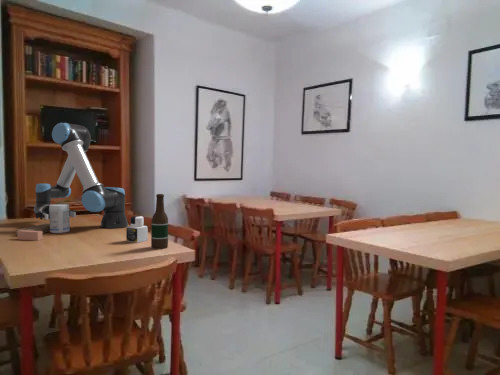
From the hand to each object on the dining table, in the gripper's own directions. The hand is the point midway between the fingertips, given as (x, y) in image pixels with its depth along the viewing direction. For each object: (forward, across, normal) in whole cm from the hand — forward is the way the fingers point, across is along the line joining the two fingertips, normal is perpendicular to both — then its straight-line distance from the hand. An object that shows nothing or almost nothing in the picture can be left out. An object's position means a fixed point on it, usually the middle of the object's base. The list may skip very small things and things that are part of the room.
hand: (61, 215), depth 194 cm
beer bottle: (+63, -21, -9) cm, 67 cm away
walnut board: (-8, +10, -9) cm, 15 cm away
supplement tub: (-3, 0, -9) cm, 10 cm away
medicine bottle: (+44, -20, -9) cm, 49 cm away
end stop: (+9, +17, -9) cm, 21 cm away
